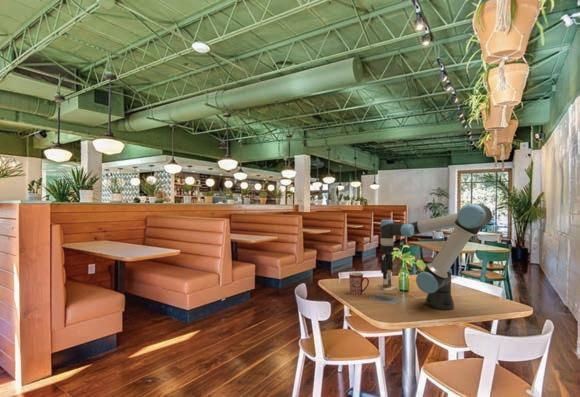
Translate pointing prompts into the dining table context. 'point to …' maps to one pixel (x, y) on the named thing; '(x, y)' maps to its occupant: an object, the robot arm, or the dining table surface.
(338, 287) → the dining table surface
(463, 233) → the robot arm
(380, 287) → the lid
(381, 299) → the mat
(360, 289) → the mug
